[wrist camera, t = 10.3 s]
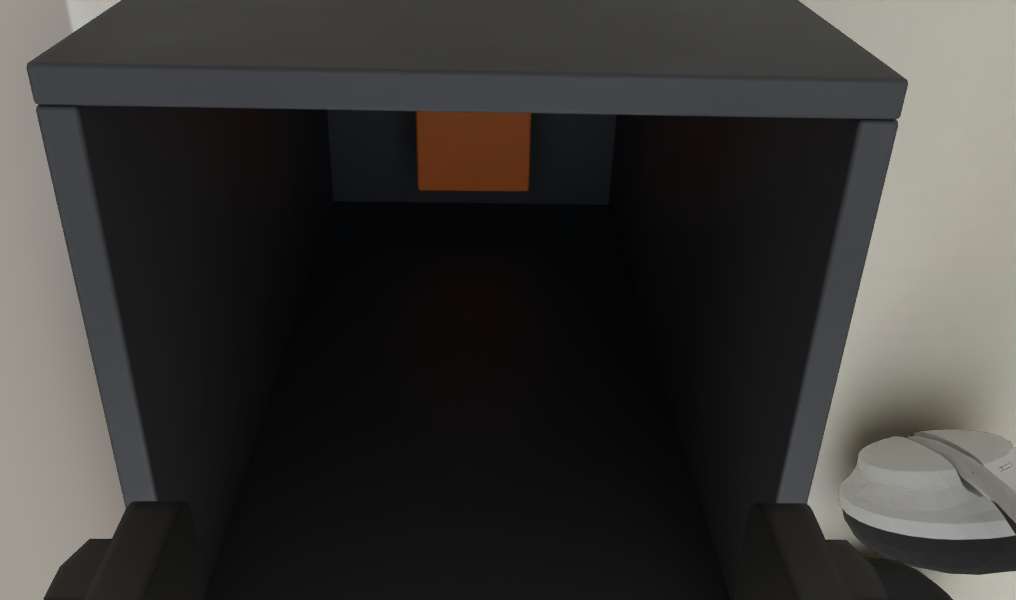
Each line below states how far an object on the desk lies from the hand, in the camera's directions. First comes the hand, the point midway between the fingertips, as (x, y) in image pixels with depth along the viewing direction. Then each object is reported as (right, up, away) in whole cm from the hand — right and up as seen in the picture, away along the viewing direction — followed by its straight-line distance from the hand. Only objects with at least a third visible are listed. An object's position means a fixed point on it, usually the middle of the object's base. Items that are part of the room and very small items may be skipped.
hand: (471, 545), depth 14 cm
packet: (-1, +12, +22) cm, 25 cm away
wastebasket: (-1, +13, +22) cm, 25 cm away
